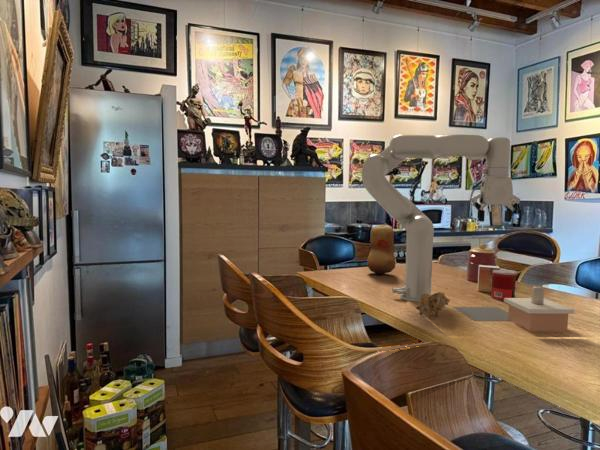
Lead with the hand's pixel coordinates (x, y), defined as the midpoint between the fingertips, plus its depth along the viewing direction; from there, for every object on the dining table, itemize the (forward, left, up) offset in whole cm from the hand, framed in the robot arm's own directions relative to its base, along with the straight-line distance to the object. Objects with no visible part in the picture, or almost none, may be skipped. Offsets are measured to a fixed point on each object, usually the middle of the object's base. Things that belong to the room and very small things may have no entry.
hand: (494, 221), depth 143 cm
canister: (+19, +45, -31) cm, 58 cm away
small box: (+11, +23, -31) cm, 40 cm away
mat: (-8, -13, -30) cm, 34 cm away
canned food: (+9, +8, -31) cm, 33 cm away
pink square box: (+1, -25, -30) cm, 39 cm away
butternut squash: (-26, +58, -31) cm, 70 cm away
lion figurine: (-27, -14, -31) cm, 43 cm away
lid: (+1, -25, -24) cm, 35 cm away
